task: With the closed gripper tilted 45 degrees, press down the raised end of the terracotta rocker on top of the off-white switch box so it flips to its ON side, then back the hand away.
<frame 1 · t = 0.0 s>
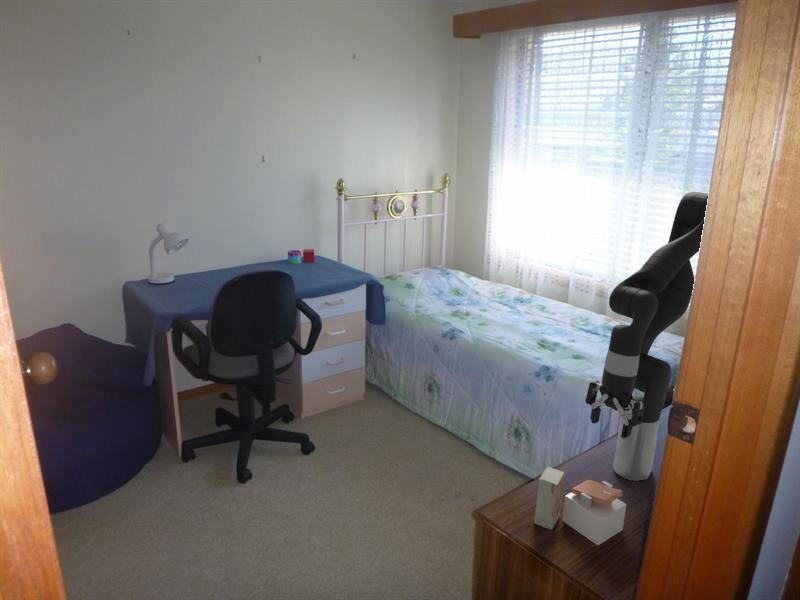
hand: (609, 429, 146), 17 cm above the dresser, tool pointing down, fingers open, 8 cm apart
rocker: (596, 493, 135), point 9 cm above the dresser, hinge at 14.0°
skincare box: (546, 520, 140), on the dresser
switch box: (592, 525, 138), on the dresser
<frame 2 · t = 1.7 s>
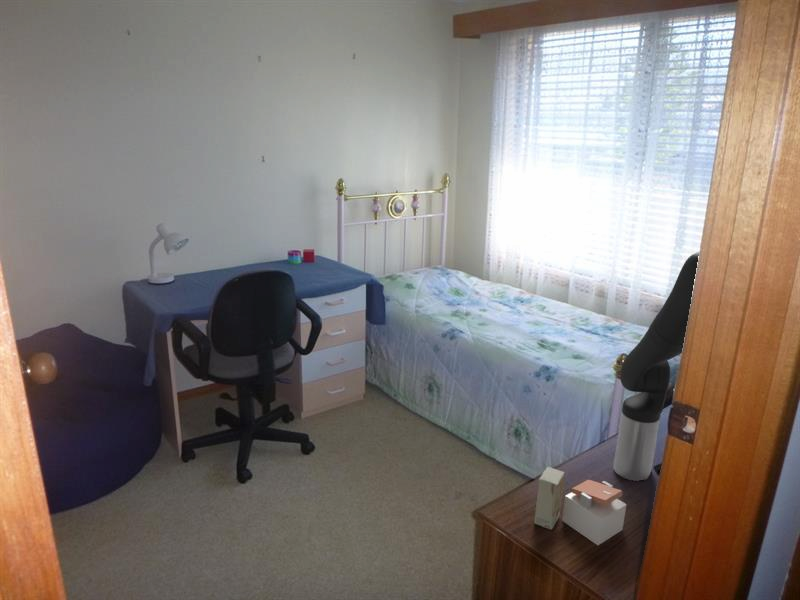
hand: (667, 465, 119), 25 cm above the dresser, tool tilted 45°, fingers open, 7 cm apart
nothing on the dresser moved.
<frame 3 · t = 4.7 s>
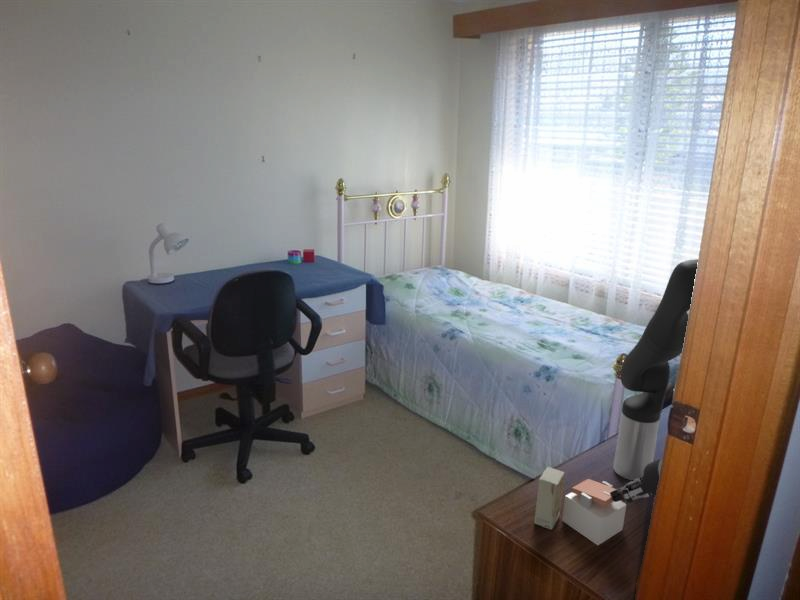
hand: (613, 496, 131), 11 cm above the dresser, tool tilted 45°, fingers closed
rocker: (596, 493, 135), point 9 cm above the dresser, hinge at 11.6°, touching gripper
everything else where it was.
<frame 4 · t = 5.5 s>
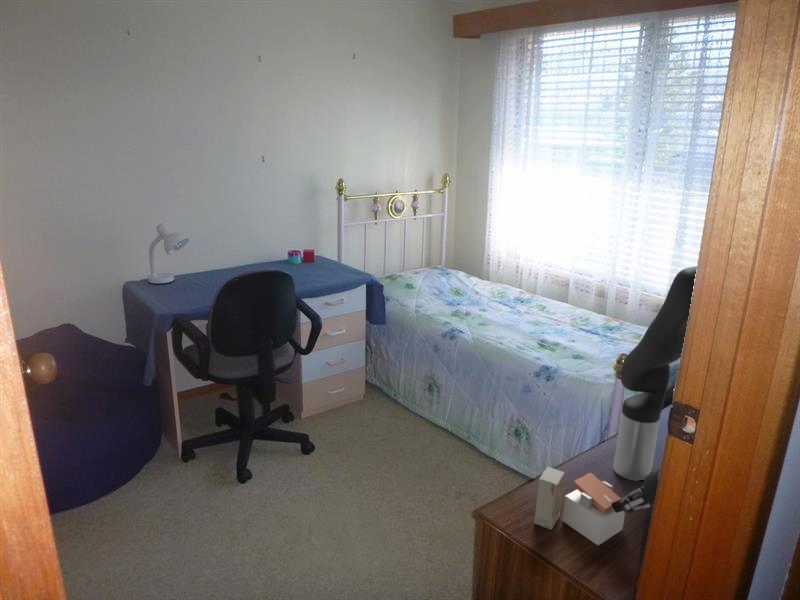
hand: (615, 507, 132), 8 cm above the dresser, tool tilted 45°, fingers closed
rocker: (596, 493, 135), point 9 cm above the dresser, hinge at -13.3°, touching gripper
everything else where it was.
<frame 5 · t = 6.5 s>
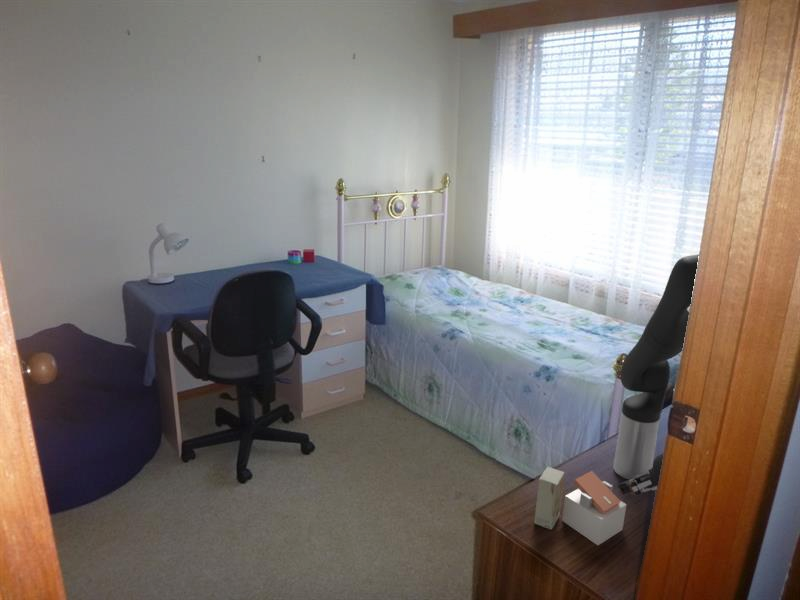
hand: (621, 489, 129), 14 cm above the dresser, tool tilted 45°, fingers closed
rocker: (595, 493, 135), point 9 cm above the dresser, hinge at -21.7°, touching switch box
everything else where it was.
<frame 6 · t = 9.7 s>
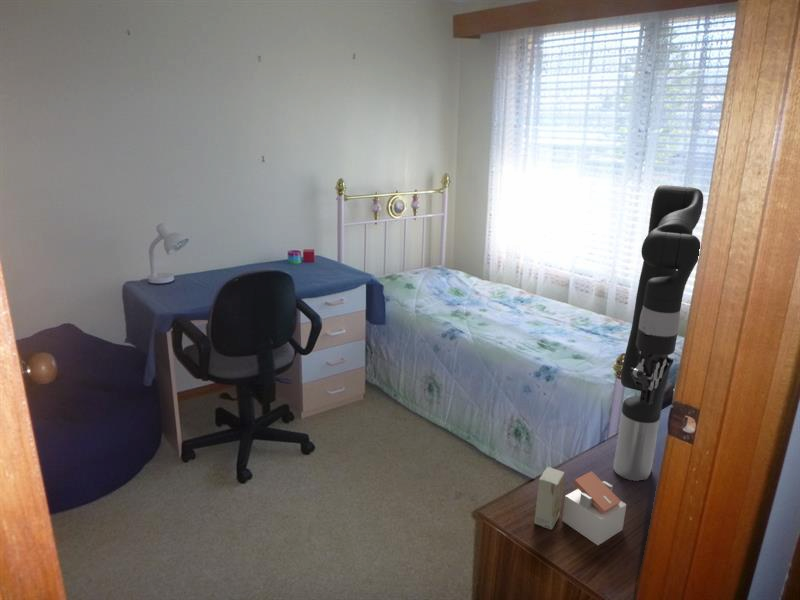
hand: (645, 402, 128), 32 cm above the dresser, tool pointing down, fingers closed
rocker: (595, 493, 135), point 9 cm above the dresser, hinge at -20.0°
everything else where it was.
at the end: rocker at -20° (first picture: +14°); the gripper is holding nothing; skincare box moved 0.2 cm from its start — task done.
